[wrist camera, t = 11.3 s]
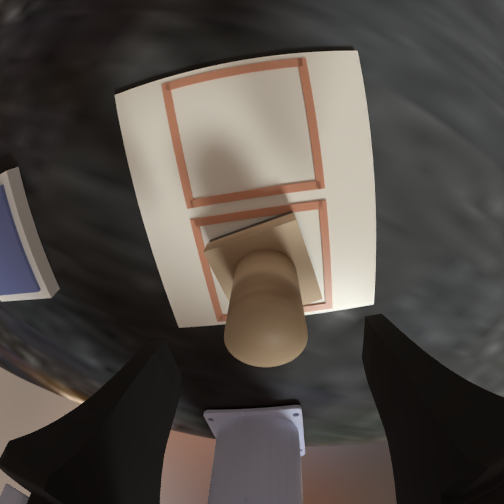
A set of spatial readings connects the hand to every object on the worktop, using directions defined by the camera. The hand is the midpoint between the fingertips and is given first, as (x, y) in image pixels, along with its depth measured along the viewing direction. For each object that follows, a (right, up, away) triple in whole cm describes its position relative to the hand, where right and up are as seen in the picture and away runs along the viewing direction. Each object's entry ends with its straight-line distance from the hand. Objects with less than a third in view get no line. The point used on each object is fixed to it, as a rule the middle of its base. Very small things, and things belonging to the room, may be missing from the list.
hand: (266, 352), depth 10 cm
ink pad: (-18, +5, +6) cm, 20 cm away
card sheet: (0, +6, +5) cm, 8 cm away
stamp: (0, +3, +6) cm, 6 cm away
